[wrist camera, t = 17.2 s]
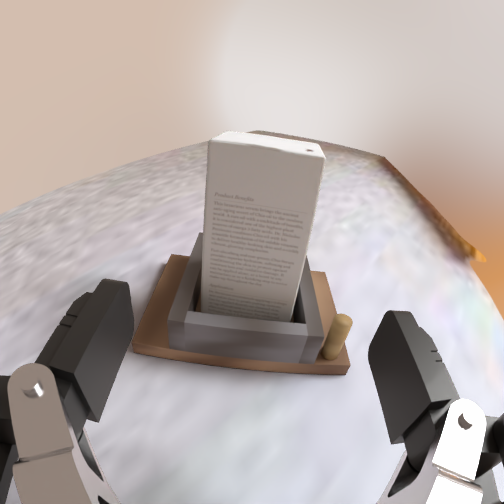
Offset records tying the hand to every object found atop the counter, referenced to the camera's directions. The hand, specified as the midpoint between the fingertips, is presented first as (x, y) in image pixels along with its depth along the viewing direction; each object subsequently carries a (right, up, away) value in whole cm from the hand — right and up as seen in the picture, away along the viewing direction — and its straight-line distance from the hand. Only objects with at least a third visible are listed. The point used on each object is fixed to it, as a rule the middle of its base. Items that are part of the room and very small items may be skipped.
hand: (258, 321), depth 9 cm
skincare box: (-1, -2, +13) cm, 13 cm away
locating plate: (-1, -3, +14) cm, 15 cm away
